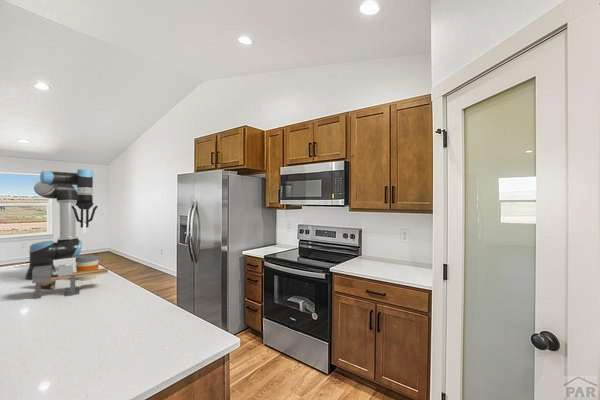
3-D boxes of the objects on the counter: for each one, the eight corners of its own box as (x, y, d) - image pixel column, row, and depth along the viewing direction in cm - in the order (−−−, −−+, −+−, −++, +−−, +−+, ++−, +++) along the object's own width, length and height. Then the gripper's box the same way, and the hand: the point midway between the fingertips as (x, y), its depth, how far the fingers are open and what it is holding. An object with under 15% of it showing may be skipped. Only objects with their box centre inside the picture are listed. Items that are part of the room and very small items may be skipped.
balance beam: (34, 281, 145) (34, 267, 145) (107, 271, 165) (107, 259, 165) (32, 285, 138) (32, 270, 138) (108, 274, 159) (108, 261, 159)
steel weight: (58, 275, 150) (58, 265, 149) (72, 274, 153) (72, 263, 153) (58, 277, 146) (58, 266, 146) (72, 275, 150) (72, 265, 150)
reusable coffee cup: (78, 277, 181) (78, 254, 181) (101, 274, 186) (101, 253, 186) (72, 282, 169) (72, 258, 169) (96, 279, 175) (96, 257, 175)
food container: (63, 286, 161) (63, 270, 161) (53, 290, 155) (53, 272, 155) (45, 285, 162) (45, 269, 162) (34, 289, 156) (34, 272, 156)
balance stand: (37, 294, 147) (37, 276, 147) (79, 288, 158) (79, 271, 158) (34, 301, 138) (34, 282, 138) (79, 293, 149) (79, 276, 149)
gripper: (70, 194, 157) (70, 234, 157) (98, 194, 165) (98, 232, 165) (71, 194, 163) (70, 233, 163) (97, 194, 171) (97, 231, 171)
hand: (84, 232), depth 164 cm, fingers closed
